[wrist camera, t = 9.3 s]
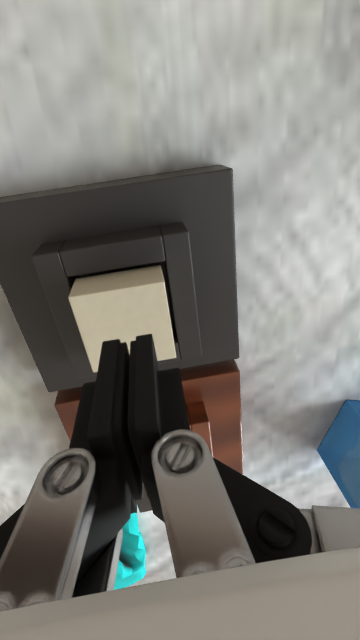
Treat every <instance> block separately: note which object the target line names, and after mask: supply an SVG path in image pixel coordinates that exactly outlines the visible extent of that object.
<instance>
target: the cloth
mask: <svg viewBox="0 0 360 640" xmlns="http://www.w3.org/2000/svg"><path fill="white" fill-rule="evenodd" d="M122 529H123V538H122V544H121V550H120V555H119V561H118V567H117V573H116V579H115V584H114V590H116V589H122V588H124V587H127V586H129V585H132V584H134V583H135V582H137V581H139V580H141V579H143V577H144V575H145V574H146V571H145V554H146V549H145V546H144V542H143V538H142V535H141V534H140V532H139V530H138V520H137V515H136V513H133V514H131V518H130V519H129V520H128V522H127V523H126V524H125V525H124V526H123V528H122Z"/></svg>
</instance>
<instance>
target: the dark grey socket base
mask: <svg viewBox="0 0 360 640" xmlns="http://www.w3.org/2000/svg"><path fill="white" fill-rule="evenodd" d="M157 265H161V269H162V273H163V277H164V282H165V288H166V294H167V301H168V307H169V313H170V320H171V326H172V332H173V338H174V345H175V351H176V358H172V359H166V360H161V361H158V366H159V371H160V370H166V369H172V368H178V367H179V369H182V368H187V367H193V366H198V365H204V364H210V363H215V362H221V361H226V360H232V359H237V358H239V339H238V310H237V281H236V253H235V224H234V195H233V170H232V168H229V167H226V166H222V165H216V166H209V167H202V168H195V169H188V170H182V171H175V172H168V173H161V174H155V175H148V176H141V177H134V178H128V179H121V180H114V181H107V182H101V183H94V184H87V185H80V186H74V187H67V188H60V189H53V190H47V191H40V192H33V193H26V194H20V195H13V196H6V197H0V284H1V286H2V288H3V290H4V293H5V295H6V297H7V299H8V302H9V304H10V306H11V308H12V311H13V313H14V315H15V317H16V320H17V322H18V324H19V326H20V329H21V331H22V333H23V335H24V338H25V340H26V342H27V344H28V347H29V349H30V351H31V353H32V356H33V358H34V360H35V363H36V365H37V367H38V369H39V372H40V374H41V376H42V378H43V381H44V383H45V385H46V387H47V390H48V392H54V391H60V390H65V389H71V388H76V387H82V386H83V385H84V384H85V383H88V382H94V381H96V377H97V372H93V371H92V368H91V365H90V362H89V359H88V356H87V353H86V350H85V347H84V344H83V341H82V338H81V335H80V332H79V329H78V326H77V323H76V320H75V317H74V314H73V311H72V308H71V305H70V302H69V299H68V297H69V294H70V292H71V289H72V287H73V284H74V282H75V279H77V278H83V277H89V276H95V275H102V274H108V273H114V272H120V271H126V270H132V269H138V268H145V267H151V266H157Z"/></svg>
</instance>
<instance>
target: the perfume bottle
mask: <svg viewBox="0 0 360 640" xmlns="http://www.w3.org/2000/svg"><path fill="white" fill-rule="evenodd" d="M317 451H318V453H319V455H320V456H321V458H322V460H323V461H324V463H325V465H326V466H327V468H328V470H329V471H330V473H331V475H332V477H333V478H334V480H335V482H336V483H337V485H338V487H339V488H340V490H341V492H342V493H343V495H344V497H345V499H346V500H347V502H348V504H349V505H350V507H351V508H360V401H354V400H346V401H345V403H344V405H343V406H342V408H341V410H340V412H339V413H338V415H337V417H336V418H335V420H334V422H333V424H332V425H331V427H330V429H329V430H328V432H327V434H326V436H325V437H324V439H323V441H322V442H321V444H320V446H319V448H318V449H317Z"/></svg>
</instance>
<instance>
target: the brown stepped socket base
mask: <svg viewBox="0 0 360 640" xmlns="http://www.w3.org/2000/svg"><path fill="white" fill-rule="evenodd" d="M180 374H181V380H182V386H183V392H184V397H185V403H186V409H187V415H188V420H189V426H190V431H193V432H196V433H198V434H199V435H200V436H201V437H203V439H204V440H205V442H206V443H207V445H208V448H209V450H210V453H211V455H212V457H213V458H215V459H217V460H219V461H220V462H222V463H224V464H225V465H227V466H229V467H230V468H232V469H234V470H236V471H237V472H239V473H241V474H243V455H242V426H241V398H240V371H239V369H238V367H237V364H236V362H235V360H234V359H232V360H226V361H221V362H215V363H210V364H204V365H198V366H193V367H187V368H182V369H180ZM82 387H83V386H82ZM82 387H76V388H71V389H65V390H60V391H58V394H57V397H56V401H55V404H54V405H55V408H56V410H57V412H58V414H59V417H60V419H61V421H62V423H63V426H64V428H65V430H66V432H67V435H68V437H69V439H70V441H71V437H72V433H73V428H74V424H75V419H76V414H77V410H78V405H79V401H80V396H81V392H82Z"/></svg>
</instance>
